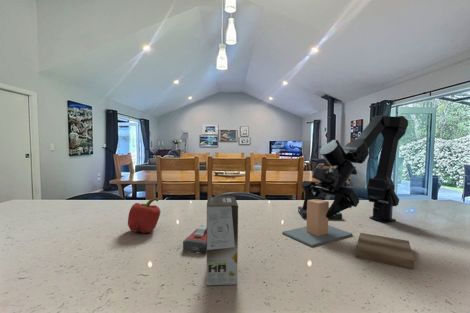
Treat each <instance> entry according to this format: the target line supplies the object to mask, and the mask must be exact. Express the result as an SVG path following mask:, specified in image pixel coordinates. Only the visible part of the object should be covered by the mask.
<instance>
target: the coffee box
mask: <svg viewBox="0 0 470 313" xmlns="http://www.w3.org/2000/svg"><path fill="white" fill-rule="evenodd" d="M206 225H207V252H206V286H227V285H230V286H231V285H232V286H233V285H237V284H238V255H239V254H238V251H239V250H238V249H239V248H238V247H239V245H238V244H239V204H238V201H237V199H236V196H209V197H207V202H206Z"/></svg>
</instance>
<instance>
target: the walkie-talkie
mask: <svg viewBox="0 0 470 313" xmlns="http://www.w3.org/2000/svg"><path fill="white" fill-rule="evenodd" d="M182 251H183V252H188V251H191V252H190V253H197V252H199V254H205V253H207V252H206V251H207V224H202V225H200V226H199V227H198V228H196V229H194V231H193V232H192V233H190V234H189V236H187V237H186V238H185V239H184V240H183V241H182Z"/></svg>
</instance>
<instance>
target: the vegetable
mask: <svg viewBox="0 0 470 313" xmlns="http://www.w3.org/2000/svg"><path fill="white" fill-rule="evenodd" d="M159 200H160V199H159V197H153V198H150V199H149V200H148V201H147V202H146V203H139V202H136V203H135V202H134V203H133V204H132V206H131V207H130V209H129V212H128V218H127V226H128V228H129V230H130V231H131V232H141V234H148V233H151V232H153V231H154V230H155V228H156V226H157V224H158V221H159V219H160V215H161V209H160V207H159V206H158V205H154V204H153V205H151V204H152V203H153V202H155V201H156V202H159Z"/></svg>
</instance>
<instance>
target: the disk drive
mask: <svg viewBox="0 0 470 313" xmlns="http://www.w3.org/2000/svg"><path fill="white" fill-rule="evenodd" d="M302 208H303V206H297V213H298V214H299V215H300V217H301V218H302V219H304V220H305V219H306V220H307V210H305V211H304V210H303V209H302ZM328 220H337V221H340V220H341V221H342V220H343V213H342V212H341V211H340V212H339V213H337V214H335V215H333V216H331V217H330V218H328Z"/></svg>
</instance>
